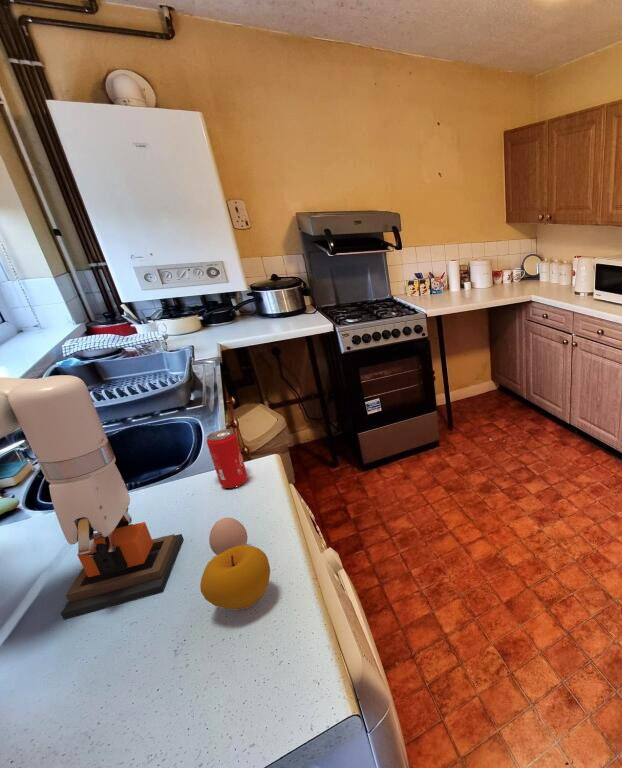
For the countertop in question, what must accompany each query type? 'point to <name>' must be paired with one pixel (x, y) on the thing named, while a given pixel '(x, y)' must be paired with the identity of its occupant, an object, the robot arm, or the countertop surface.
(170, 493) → the countertop surface
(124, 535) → the orange block
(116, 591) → the brown wooden tray
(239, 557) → the apple
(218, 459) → the beverage can
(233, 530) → the egg
